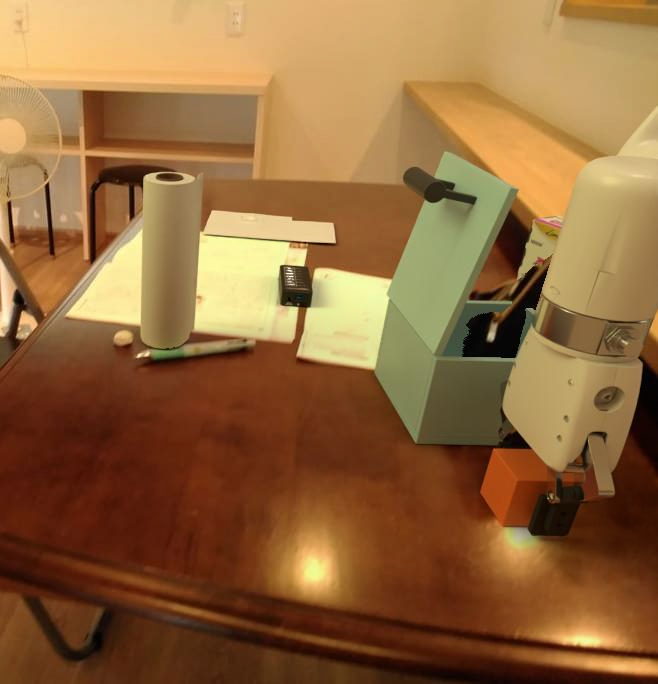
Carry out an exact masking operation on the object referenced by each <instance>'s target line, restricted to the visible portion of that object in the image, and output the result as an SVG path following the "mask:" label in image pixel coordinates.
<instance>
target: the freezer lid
mask: <svg viewBox="0 0 658 684" xmlns="http://www.w3.org/2000/svg"><path fill="white" fill-rule="evenodd" d="M402 181H403V183H404V185H405V186H406V187H408V188H409V189H410V190H412V191H413V192H414V193H415V194H417V195H418V196H420V198H422V199H424V201H423V203H422V205H421V206H422V207H421V208H420V209H421V211H420V213H418V216H417V217H418V218H416V221H415V223H414V226H413V228H412V230H411V232H410V235H409V238H408V240H407V243H406V245H405V247H404V249H403V253H402V255H401V256H400V260H399V262H398V265H397V267H396V269H395V272H394V274H393V277H392V279H391V282H390V284H389V287H388V289H387V291H386V296H387V297H388V299H391V301H392V302H393V303H394V304H395V306H396V307H397V308H398V310H399V311H400V312H401V313H402V315H403V316H404V317H405V318H406V320H407V321H408V322H409V324H410V325H411V326H412V327H413V329H414V330H415V331H416V333H417V334H418V335H419V336H420V338H421V339H422V340H423V341H424V343H425V344H426V345H427V347H428V348H429V349H430V350H431V352H432V353H433V354H434V355H439V356H441V355H442V353H443V351H444V349H445V347H446V345H447V342H448V340H449V338H450V336H451V334H452V332H453V330H454V328H455V325H456V323H457V321H458V319H459V317H460V315H461V313H462V310H463V308H464V306H465V304H466V302H467V300H468V299H469V297H470V296H471V293H472V291H473V289H474V287H475V285H476V282H477V280H478V279H479V276H480V274H481V272H482V270H483V268H484V267H485V266H484V265H485V264H486V261H487V259H488V257H489V255H490V253H491V251H492V249H493V246H494V244H495V242H496V240H497V237H498V236H499V233H500V231H501V229H502V227H503V225H504V223H505V221H506V218H507V217H508V215H509V212H510V210H511V208H512V205H513V203H514V202H515V199H516V197H517V195H518V193H519V191H520V190H519V188H518V187H516V186H514V185H513V184H510V183H509V182H507V181H505V180H502V179H501V178H500V177H497V176H495V175H494V174H492V173H490V172H488V171H486V170H484V169H482V167H481V168H480V167H479V166H477V165H475V164H473V163H472V162H470V161H467V160H466V159H464V158H462V157H461V156H459V155H456V154H455V153H453V152H450V151H444V152H443V155H442V157H441V159H440V162H439V164H438V167H437V169H436V172H435V174H434V176H433V175H431V174H430V173H428V172H427V171H425V170H424V169H422V168H421V167H419V166H411V167H409V168H408V169H406V170H405V172H404V173H403V176H402Z"/></svg>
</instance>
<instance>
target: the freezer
mask: <svg viewBox="0 0 658 684" xmlns="http://www.w3.org/2000/svg"><path fill="white" fill-rule="evenodd" d="M511 304H512V301H510V300H467V302H466V304H465V306H464V308H463V310H462V313H461V315H460V317H459V319H458V321H457V323H456V325H455V328H454V330H453V332H452V334H451V336H450V338H449V340H448V342H447V345H446V347H445V349H444V351H443V353H442V355H441V356H439V355H434V354H433V353H432V352H431V350H430V349H429V348H428V347H427V345H426V344H425V343H424V341H423V340H422V339H421V338H420V336H419V335H418V334H417V333H416V331H415V330H414V329H413V327H412V326H411V325H410V324H409V322H408V321H407V320H406V318H405V317H404V316H403V315H402V313H401V312H400V311H399V310H398V308H397V307H396V306H395V304H394V303H393V302H392V301H391V299H390V298H388V302H387V306H386V312H385V317H384V322H383V327H382V331H381V335H380V336H381V337H380V340H379V341H380V342H379V347H378V352H377V357H376V361H375V367H374V372H373V373H374V376H375V377H376V379H377V381H378V382H379V384H380V386H381V387H382V389H383V390H384V392H385V394H386V396H387V397H388V399H389V401H390V403H391V404H392V406H393V408H394V410H395V411H396V412H397V414H398V416H399V418H400V420H401V421H402V423H403V425H404V426H405V428H406V430H407V431H408V433H409V434H410V437H411V438H412V440H413V442H414V443H415V444H416V445H451V446H452V445H454V446H456V445H457V446H496V447H497V446H498V442H499V441H503V440H500V439H499V437H498V429H499V427H500V426H501V425H502V418H501V413H500V409H501V406H502V405H503V404H502V401H501V392H500V385H501V383H502V382H505V381H507V380H509V377H510V374H511V371H512V368H513V365H514V363H515V360H516V358H517V355H518V353H519V350H520V348H521V345H522V343H523V341H524V339H525V337H526V335H527V333H528V331H529V329H530V326H531V323H532V320H533V317H534V314H535V310H534V309H533V308H526V309H525V311H526V319H525V324H524V326H523V330H522V334H521V337H520V344H519V347H518V351H517V354H516V357H515V358H501V357H462V356H463V355H462V354H464V353H463V351H462V350H463V348H464V347H463V346H465V345H464V344H463V342H464V341H463V340H465V339H466V338H465V337H467V336H468V335H469V331H468V330H470V329H469V328H468V327H467V326H466V324H467V323H468V322H469V320H470V319H471V318H472V317H473V318H474V317H475V316H477V315H478V314H479V315H480V314H483V313H484V314H485V313H486V314H487V313H489V312H499V313H501V312H503V311H505V310H506V309H507V308H508V307H509V306H510V305H511ZM467 334H468V335H467ZM470 334H471V333H470ZM464 338H465V339H464Z"/></svg>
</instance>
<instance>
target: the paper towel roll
mask: <svg viewBox="0 0 658 684" xmlns="http://www.w3.org/2000/svg"><path fill="white" fill-rule="evenodd" d="M204 174H205V173H204V172H201V173H199V174H198V175H197V178H196V177H194V176H193V175H190V174H188V173H184V172H183V173H182V172H175V171H174V172H173V171H158V172H151V173H148V174H145V175H144V176H143V183H142V185H143V186H142V227H141V229H142V231H141V232H142V233H141V234H142V237H141V238H142V239H141V277H140V279H141V281H140V282H141V283H140V286H141V287H140V290H141V291H140V329H139V330H140V335H139V337H140V339H141V342H142V343H143V344H144V345H146V346H148V347H151V348H154V349H160V350H161V349H162V350H167V349H166V348H169V349H174V348H173V347H175V348H179V347H181V346H182V345H184V344H185V343H187V341H189V340H190V335H191V332H192V331H193V330H195V326H196V325H195V324H196V309H197V308H196V307H197V291H198V289H197V288H198V274H199V256H200V255H199V254H200V242H201V241H200V240H201V226H202V225H201V223H202V222H201V221H202V208H203V207H202V206H203V190H204V188H203V187H204Z"/></svg>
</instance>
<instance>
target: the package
mask: <svg viewBox="0 0 658 684" xmlns="http://www.w3.org/2000/svg"><path fill="white" fill-rule="evenodd" d="M547 467H548V465H547V464H546V463H545V462H544V461H543V460H542V459H541V458H540V457H539V456H538V455H537V454H536V452H535V451H534V450H533V449H497V448H495V447H494V448H493V449H492V452H491V455H490V458H489V462H488V464H487V468H486V471H485V474H484V478H483V482H482V484H481V488H480V491H479V494H480V495H481V496H482V499H483V500H484V501H485V502H486V504H487V506H488V507H489V509H490V511H491V512H492V513H493V515H494V516H495V518H496V519H497V521H498V522H499V524H500V525H501V527H528V525H529V522H530V520H531V517H532V514H533V511H534V509H535V506H536V503H537V500H538V497H539V495H540V494H546V492H547ZM567 486H574V473H563V476H562V487H567Z"/></svg>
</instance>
